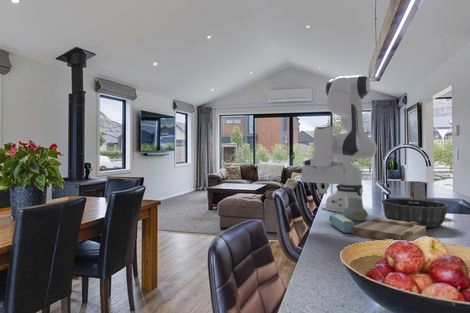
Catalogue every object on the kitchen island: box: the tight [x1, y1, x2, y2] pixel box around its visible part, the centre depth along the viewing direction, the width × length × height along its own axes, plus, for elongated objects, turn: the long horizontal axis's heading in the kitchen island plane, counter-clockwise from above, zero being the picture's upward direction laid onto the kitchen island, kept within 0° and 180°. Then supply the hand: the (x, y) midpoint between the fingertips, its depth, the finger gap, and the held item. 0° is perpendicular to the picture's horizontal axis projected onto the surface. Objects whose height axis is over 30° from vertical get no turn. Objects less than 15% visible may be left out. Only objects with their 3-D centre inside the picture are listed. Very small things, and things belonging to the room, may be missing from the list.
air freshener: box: [342, 198, 368, 222], centre depth 163 cm, size 11×8×10 cm
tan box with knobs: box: [351, 217, 427, 241], centre depth 135 cm, size 22×20×4 cm
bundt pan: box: [381, 198, 449, 229], centre depth 154 cm, size 26×26×10 cm
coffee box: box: [408, 181, 428, 200], centre depth 183 cm, size 9×6×16 cm
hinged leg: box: [328, 213, 355, 233], centre depth 145 cm, size 18×4×5 cm, turn 3°
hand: (323, 193), depth 152 cm, fingers closed
